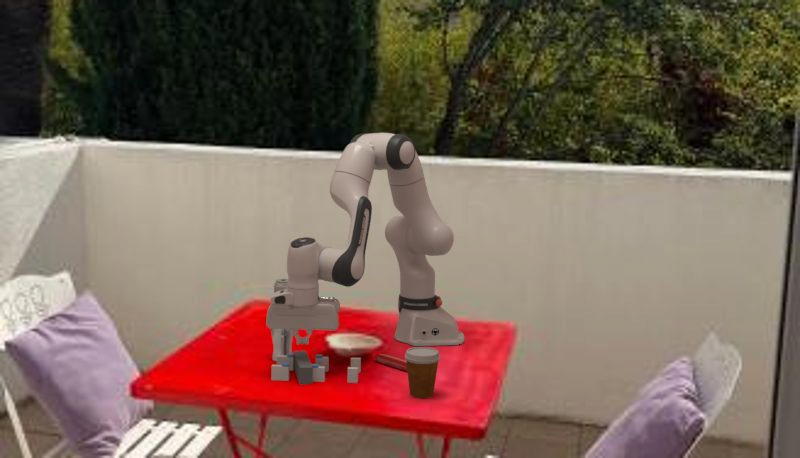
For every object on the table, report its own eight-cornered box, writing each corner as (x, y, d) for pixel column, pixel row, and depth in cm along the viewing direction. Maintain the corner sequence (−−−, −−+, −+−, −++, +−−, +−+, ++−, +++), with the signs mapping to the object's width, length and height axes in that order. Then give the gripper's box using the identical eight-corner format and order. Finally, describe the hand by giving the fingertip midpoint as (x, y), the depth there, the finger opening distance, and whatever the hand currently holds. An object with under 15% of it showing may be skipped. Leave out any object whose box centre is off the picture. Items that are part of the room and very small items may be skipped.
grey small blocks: (360, 371, 293) (360, 355, 292) (357, 382, 283) (357, 367, 282) (277, 368, 294) (277, 353, 293) (271, 380, 284) (271, 364, 283)
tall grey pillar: (305, 367, 297) (305, 350, 296) (312, 384, 281) (312, 367, 280) (293, 367, 296) (293, 351, 295) (299, 385, 280) (299, 367, 280)
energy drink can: (271, 325, 339) (271, 281, 336) (277, 321, 345) (276, 277, 342) (289, 326, 338) (289, 282, 335) (294, 322, 344) (294, 278, 341)
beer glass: (290, 363, 299) (290, 314, 296) (267, 361, 300) (267, 312, 297) (297, 356, 305) (297, 308, 303) (274, 355, 307) (274, 306, 304)
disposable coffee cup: (402, 388, 279) (403, 346, 276) (437, 388, 279) (438, 346, 277) (405, 400, 269) (406, 357, 267) (441, 400, 270) (442, 356, 268)
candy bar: (420, 372, 294) (420, 362, 294) (411, 375, 291) (411, 365, 291) (380, 360, 305) (380, 350, 304) (371, 362, 302) (372, 353, 302)
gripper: (341, 294, 287) (340, 342, 290) (269, 292, 288) (269, 339, 290) (338, 300, 281) (338, 348, 283) (265, 297, 282) (265, 346, 284)
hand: (302, 344), depth 287 cm, fingers closed
